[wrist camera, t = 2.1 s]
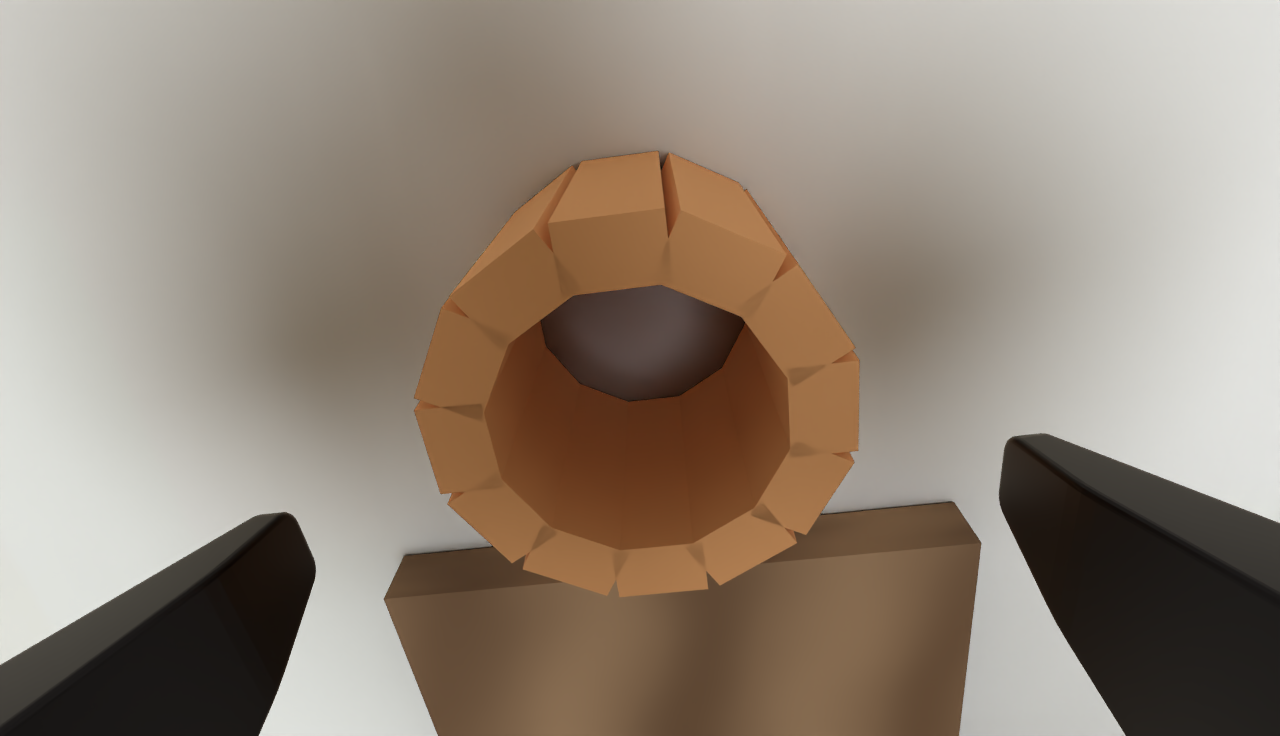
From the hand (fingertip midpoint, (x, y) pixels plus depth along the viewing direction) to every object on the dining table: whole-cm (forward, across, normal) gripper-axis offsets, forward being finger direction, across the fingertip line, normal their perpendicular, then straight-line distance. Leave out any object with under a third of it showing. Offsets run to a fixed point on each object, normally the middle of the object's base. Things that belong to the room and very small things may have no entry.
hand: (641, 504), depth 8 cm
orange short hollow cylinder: (+7, 0, 0) cm, 7 cm away
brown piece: (+7, 0, +14) cm, 15 cm away
